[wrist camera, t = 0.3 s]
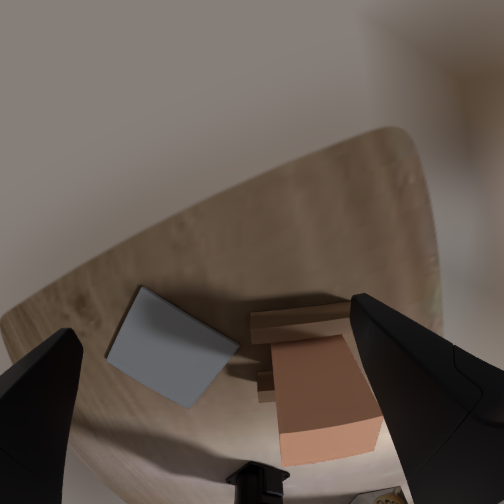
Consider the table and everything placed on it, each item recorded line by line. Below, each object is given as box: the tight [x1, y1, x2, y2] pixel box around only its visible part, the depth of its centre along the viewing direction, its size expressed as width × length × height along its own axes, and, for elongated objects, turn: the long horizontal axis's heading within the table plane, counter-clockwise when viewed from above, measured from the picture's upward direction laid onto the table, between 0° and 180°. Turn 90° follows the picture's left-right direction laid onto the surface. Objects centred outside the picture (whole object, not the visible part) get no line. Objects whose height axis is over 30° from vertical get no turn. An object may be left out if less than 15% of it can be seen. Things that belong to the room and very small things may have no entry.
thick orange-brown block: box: [271, 334, 383, 467], centre depth 20 cm, size 4×6×12 cm, turn 96°
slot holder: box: [250, 301, 353, 403], centre depth 24 cm, size 8×9×3 cm
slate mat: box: [106, 286, 240, 409], centre depth 26 cm, size 10×10×1 cm
